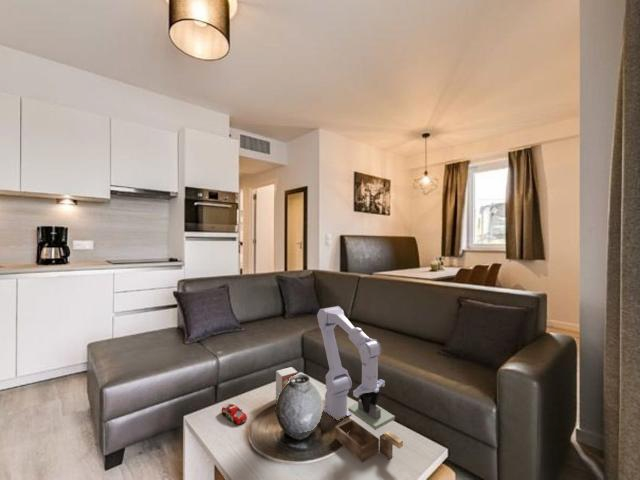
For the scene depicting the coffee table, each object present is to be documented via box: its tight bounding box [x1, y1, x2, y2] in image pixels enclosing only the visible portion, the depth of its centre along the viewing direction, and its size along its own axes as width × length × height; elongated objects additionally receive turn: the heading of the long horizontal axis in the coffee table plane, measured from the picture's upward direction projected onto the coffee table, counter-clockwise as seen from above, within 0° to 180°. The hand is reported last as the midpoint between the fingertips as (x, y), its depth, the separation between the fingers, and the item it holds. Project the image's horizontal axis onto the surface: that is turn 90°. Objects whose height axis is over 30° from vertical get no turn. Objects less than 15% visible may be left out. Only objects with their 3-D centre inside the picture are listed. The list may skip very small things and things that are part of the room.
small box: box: [275, 366, 299, 400], centre depth 137 cm, size 8×6×13 cm
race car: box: [221, 403, 248, 426], centre depth 124 cm, size 13×5×4 cm, turn 48°
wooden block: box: [384, 430, 404, 449], centre depth 101 cm, size 6×2×2 cm, turn 37°
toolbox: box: [334, 418, 394, 463], centre depth 107 cm, size 18×10×6 cm, turn 37°
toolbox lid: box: [347, 398, 396, 431], centre depth 112 cm, size 14×10×5 cm
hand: (369, 410), depth 112 cm, fingers closed on toolbox lid, 2 cm apart
